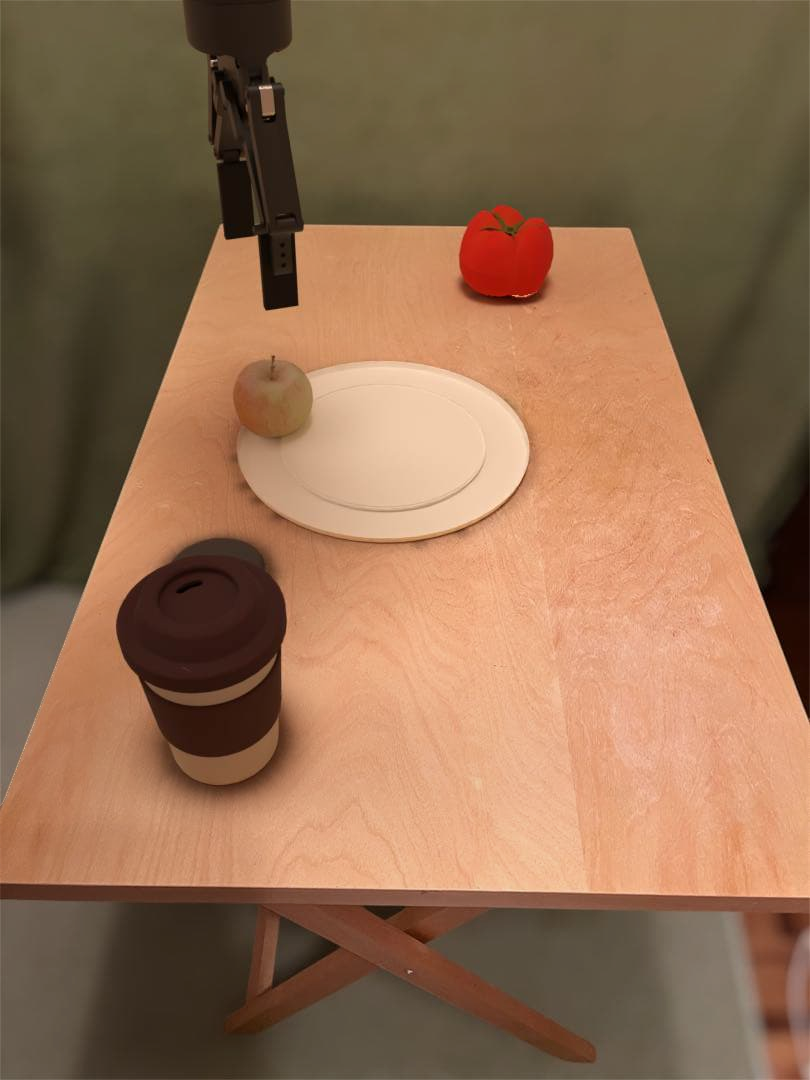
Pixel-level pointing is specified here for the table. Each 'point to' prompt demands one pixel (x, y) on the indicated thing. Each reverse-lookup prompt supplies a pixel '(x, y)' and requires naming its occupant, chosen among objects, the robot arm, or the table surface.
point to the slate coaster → (224, 550)
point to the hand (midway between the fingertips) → (259, 269)
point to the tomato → (505, 253)
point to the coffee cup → (209, 661)
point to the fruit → (272, 397)
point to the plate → (390, 454)
